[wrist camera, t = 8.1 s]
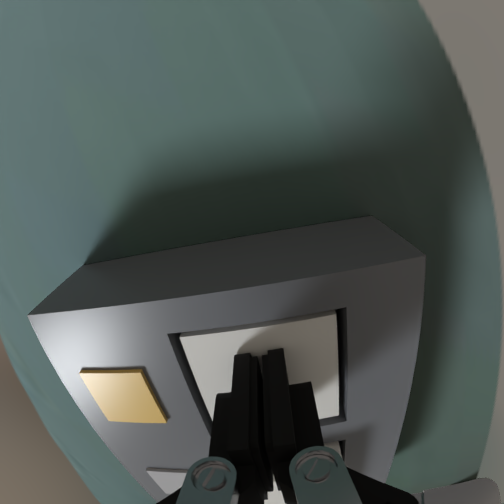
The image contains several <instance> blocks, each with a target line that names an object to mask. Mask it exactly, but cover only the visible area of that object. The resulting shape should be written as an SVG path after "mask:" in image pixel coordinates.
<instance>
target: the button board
mask: <svg viewBox="0 0 504 504" xmlns="http://www.w3.org/2000/svg"><path fill="white" fill-rule="evenodd" d="M425 270H426V255H425V254H424V253H422V252H421V251H420V250H418V249H417V248H416V247H415V246H413V245H412V244H411V243H409V242H408V241H407V240H405V239H404V238H403V237H401V236H400V235H399V234H397V233H396V232H394V231H393V230H392V229H390V228H389V227H388V226H386V225H385V224H383V223H382V222H381V221H379V220H378V219H376V218H375V217H374V216H366V217H360V218H353V219H347V220H340V221H334V222H328V223H322V224H315V225H309V226H303V227H297V228H291V229H285V230H279V231H273V232H267V233H261V234H255V235H249V236H243V237H237V238H231V239H226V240H220V241H214V242H208V243H203V244H197V245H191V246H186V247H180V248H174V249H169V250H163V251H158V252H152V253H147V254H141V255H136V256H131V257H125V258H120V259H115V260H109V261H104V262H99V263H93V264H88V265H83V266H81V267H80V268H79V269H78V270H77V271H76V272H74V273H73V274H72V275H71V276H70V277H69V278H67V279H66V280H65V281H64V282H63V283H62V284H61V285H60V286H58V287H57V288H56V289H55V290H54V291H53V292H52V293H51V294H50V295H48V296H47V297H46V298H45V299H44V300H43V301H42V302H41V303H40V304H39V305H38V306H36V307H35V308H34V309H33V310H32V311H31V312H30V313H29V314H28V315H27V316H28V318H29V320H30V322H31V325H32V327H33V329H34V331H35V333H36V335H37V337H38V339H39V341H40V343H41V345H42V346H43V348H44V350H45V352H46V354H47V356H48V358H49V359H50V361H51V363H52V365H53V367H54V368H55V370H56V372H57V373H58V375H59V377H60V378H61V380H62V382H63V383H64V385H65V387H66V388H67V390H68V391H69V393H70V395H71V396H72V398H73V399H74V401H75V402H76V404H77V405H78V407H79V408H80V410H81V411H82V413H83V414H84V416H85V417H86V418H87V420H88V421H89V423H90V424H91V425H92V427H93V428H94V429H95V431H96V432H97V434H98V435H99V436H100V437H101V439H102V440H103V441H104V443H105V444H106V445H107V446H108V448H109V449H110V450H111V451H112V453H113V454H114V455H115V456H116V458H117V459H118V460H119V461H120V462H121V464H122V465H123V466H124V467H125V468H126V469H127V471H128V472H129V473H130V474H131V475H132V476H133V477H134V478H135V479H136V481H137V482H138V483H139V484H140V485H141V486H142V487H143V488H144V489H145V490H146V491H147V492H148V493H149V494H150V495H151V496H152V497H153V498H154V499H155V500H156V501H157V502H160V501H161V500H163V499H164V498H166V497H167V496H169V495H170V494H172V493H173V492H175V491H176V490H178V489H179V488H181V487H182V485H183V482H184V479H185V476H186V473H187V471H188V470H189V468H190V467H191V466H192V465H193V464H194V463H195V462H197V461H198V460H200V459H202V458H206V457H208V456H209V447H210V439H211V431H212V423H213V421H212V419H211V417H210V414H209V412H208V409H207V407H206V405H205V402H204V400H203V397H202V395H201V393H200V390H199V388H198V385H197V383H196V380H195V377H194V375H193V372H192V370H191V367H190V364H189V362H188V359H187V356H186V354H185V351H184V348H183V346H182V343H181V340H180V335H181V332H188V331H197V330H205V329H213V328H221V327H229V326H236V325H243V324H250V323H257V322H264V321H270V320H277V319H283V318H289V317H295V316H301V315H307V314H313V313H318V312H324V311H329V310H335V313H336V320H337V341H338V375H339V415H338V416H333V417H328V418H323V419H319V422H320V427H321V432H322V437H323V442H324V444H325V443H330V442H335V441H338V442H339V446H340V451H341V455H342V459H343V461H344V464H345V466H346V467H348V468H350V469H353V470H355V471H357V472H359V473H361V474H364V475H366V476H368V477H371V478H373V479H375V480H378V481H380V482H382V483H385V482H386V479H387V476H388V473H389V470H390V467H391V464H392V461H393V458H394V454H395V451H396V448H397V444H398V441H399V437H400V433H401V429H402V425H403V422H404V417H405V413H406V409H407V405H408V400H409V395H410V391H411V386H412V380H413V375H414V369H415V364H416V357H417V351H418V344H419V337H420V329H421V320H422V311H423V300H424V287H425Z"/></svg>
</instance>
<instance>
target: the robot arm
mask: <svg viewBox="0 0 504 504" xmlns="http://www.w3.org/2000/svg"><path fill="white" fill-rule="evenodd" d="M267 352H268V354H267V355H262V374H261V370H260V365H259V361H258V357H257V356H253V357H252V356H251V353H244V354H236V355H234V363H233V375H232V388H231V392H228V393H217V395H216V399H215V407H214V415H213V423H212V431H211V439H210V447H209V456H208V457H206V458H202V459H200V460H198V461H197V462H195V463H194V464H193V465H192V466H191V467H190V468H189V470H188V471H187V473H186V476H185V479H184V482H183V485H182V487H181V488H179V489H178V490H176V491H175V492H173V493H172V494H170V495H169V496H167V497H166V498H164V499H163V500H161V501H160V502H158V503H156V504H264V500H268V492H272V491H273V490H274V486H273V475H274V478H275V482H276V485H277V488H278V491H281V492H282V495H283V498H284V502H285V504H504V503H501V500H500V493H499V489H498V486H497V484H496V483H495V482H494V481H493V480H491V479H488V478H478V479H475V480H471V481H467V482H463V483H458V484H454V485H449V486H444V487H439V488H434V489H428V490H424V491H423V492H422V493H415V494H410V493H408V492H405V491H403V490H400V489H397V488H395V487H392V486H390V485H387V484H385V483H382V482H380V481H378V480H375V479H373V478H371V477H368V476H366V475H364V474H361V473H359V472H357V471H355V470H353V469H350V468H348V467H346V466H345V464H344V461H343V459H342V457H341V456H340V455H339V453H338V452H336V451H335V450H334V449H332V448H329V447H326V446H324V442H323V437H322V432H321V427H320V422H319V417H318V412H317V407H316V402H315V397H314V392H313V388H312V383H311V381H309V382H304V383H298V384H291V385H289V381H288V374H287V368H286V362H285V355H284V349H283V348H279V349H273V350H268V351H267ZM262 377H263V379H262Z"/></svg>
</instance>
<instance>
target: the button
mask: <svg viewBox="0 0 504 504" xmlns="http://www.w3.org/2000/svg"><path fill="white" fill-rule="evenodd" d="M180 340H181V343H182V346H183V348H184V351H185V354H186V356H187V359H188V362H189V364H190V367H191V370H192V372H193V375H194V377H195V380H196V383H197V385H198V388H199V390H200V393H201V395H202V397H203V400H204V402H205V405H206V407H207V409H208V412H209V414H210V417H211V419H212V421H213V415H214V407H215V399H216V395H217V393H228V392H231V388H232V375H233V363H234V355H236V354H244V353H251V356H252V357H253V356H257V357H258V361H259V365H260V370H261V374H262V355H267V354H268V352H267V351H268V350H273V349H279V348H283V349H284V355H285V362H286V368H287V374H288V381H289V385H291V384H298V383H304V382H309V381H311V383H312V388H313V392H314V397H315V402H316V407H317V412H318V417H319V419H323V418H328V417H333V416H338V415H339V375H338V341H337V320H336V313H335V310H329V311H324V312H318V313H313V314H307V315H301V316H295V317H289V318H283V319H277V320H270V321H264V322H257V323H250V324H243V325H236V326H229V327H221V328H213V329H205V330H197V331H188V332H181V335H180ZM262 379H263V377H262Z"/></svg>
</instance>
